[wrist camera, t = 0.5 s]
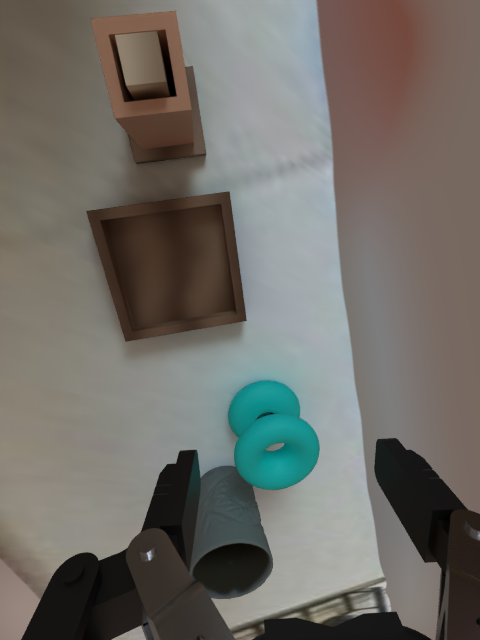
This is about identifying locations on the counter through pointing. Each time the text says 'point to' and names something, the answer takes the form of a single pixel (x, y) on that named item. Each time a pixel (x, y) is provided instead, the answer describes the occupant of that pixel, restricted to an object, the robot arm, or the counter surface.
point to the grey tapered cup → (229, 537)
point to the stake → (156, 91)
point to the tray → (171, 264)
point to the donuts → (271, 436)
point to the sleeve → (155, 114)
